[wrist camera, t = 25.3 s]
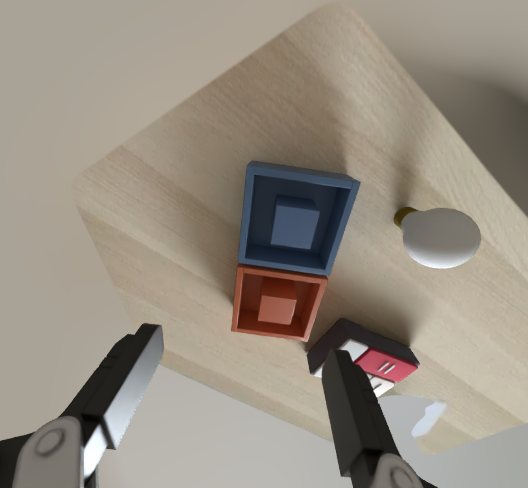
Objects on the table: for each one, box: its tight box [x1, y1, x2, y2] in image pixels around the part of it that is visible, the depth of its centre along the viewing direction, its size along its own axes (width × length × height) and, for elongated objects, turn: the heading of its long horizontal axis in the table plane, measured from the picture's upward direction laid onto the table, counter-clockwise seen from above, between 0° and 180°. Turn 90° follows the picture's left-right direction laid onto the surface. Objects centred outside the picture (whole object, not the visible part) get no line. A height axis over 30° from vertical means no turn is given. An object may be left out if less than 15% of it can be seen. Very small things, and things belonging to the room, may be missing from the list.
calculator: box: [307, 319, 420, 397], centre depth 38 cm, size 11×4×15 cm
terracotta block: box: [258, 276, 296, 325], centre depth 31 cm, size 5×5×5 cm
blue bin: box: [238, 160, 361, 276], centre depth 26 cm, size 12×12×4 cm
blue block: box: [271, 195, 320, 249], centre depth 26 cm, size 5×5×5 cm
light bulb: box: [394, 207, 481, 268], centre depth 23 cm, size 6×6×10 cm
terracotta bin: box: [231, 263, 328, 342], centre depth 32 cm, size 12×12×4 cm
